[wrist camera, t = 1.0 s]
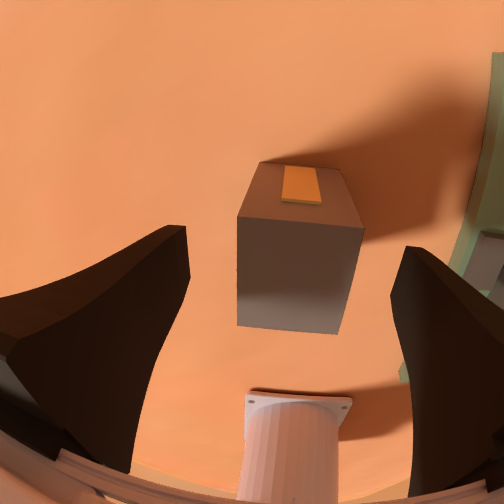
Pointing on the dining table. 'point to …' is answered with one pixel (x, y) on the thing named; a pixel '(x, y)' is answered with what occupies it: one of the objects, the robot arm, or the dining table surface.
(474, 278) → the board
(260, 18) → the dining table surface
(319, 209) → the plug
